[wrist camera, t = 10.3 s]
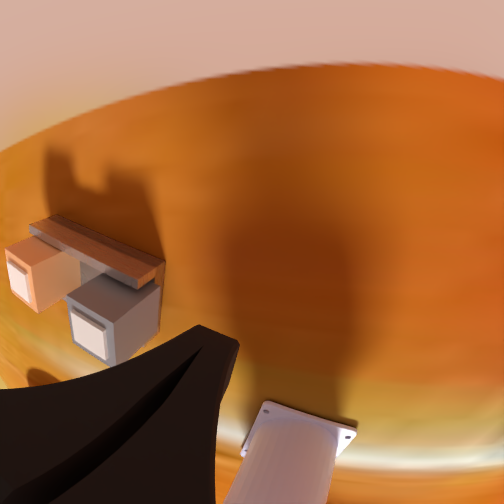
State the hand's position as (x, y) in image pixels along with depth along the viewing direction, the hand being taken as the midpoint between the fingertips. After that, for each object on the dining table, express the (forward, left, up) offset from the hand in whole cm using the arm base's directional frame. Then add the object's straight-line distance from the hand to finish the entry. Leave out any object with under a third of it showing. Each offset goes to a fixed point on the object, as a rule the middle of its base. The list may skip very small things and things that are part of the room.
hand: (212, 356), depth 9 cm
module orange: (-6, +17, -9) cm, 20 cm away
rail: (-7, +14, -10) cm, 18 cm away
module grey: (-7, +9, -9) cm, 14 cm away
